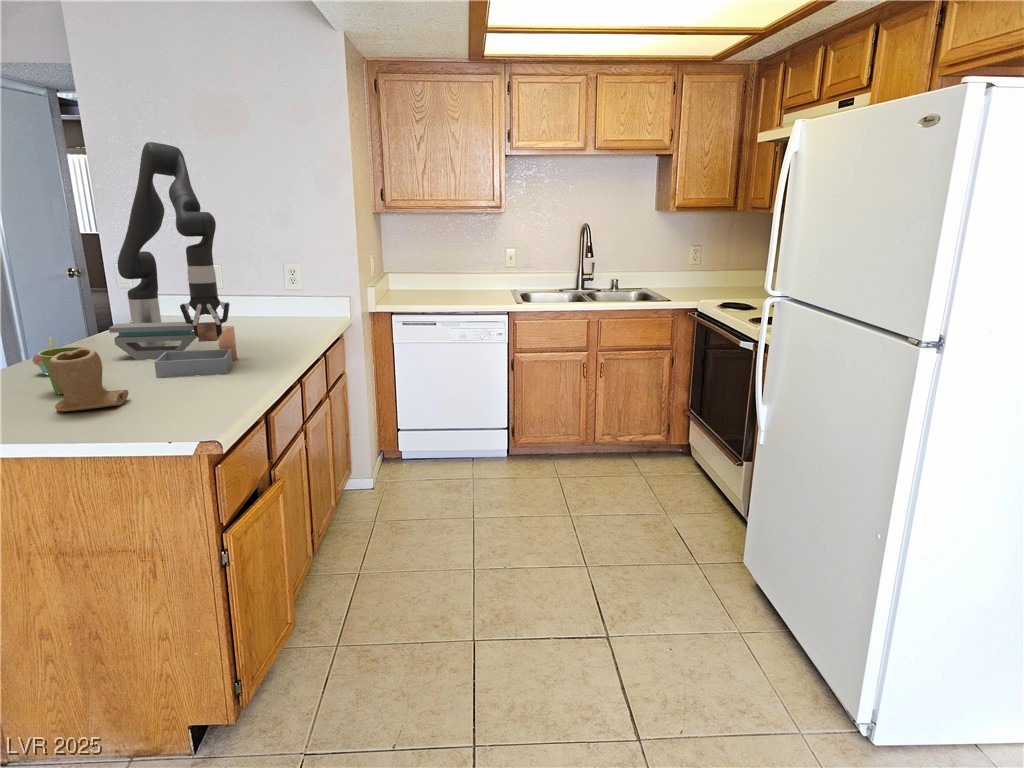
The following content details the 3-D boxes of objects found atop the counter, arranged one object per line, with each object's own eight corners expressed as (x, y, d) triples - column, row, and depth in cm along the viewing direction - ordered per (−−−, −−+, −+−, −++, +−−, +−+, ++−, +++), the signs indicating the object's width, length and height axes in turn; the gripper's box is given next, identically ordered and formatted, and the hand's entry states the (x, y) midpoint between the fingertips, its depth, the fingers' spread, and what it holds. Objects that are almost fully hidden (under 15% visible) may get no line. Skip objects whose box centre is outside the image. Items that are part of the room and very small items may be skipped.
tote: (156, 377, 191) (154, 361, 190) (166, 366, 204) (164, 351, 203) (226, 374, 196) (225, 358, 195) (232, 363, 209) (231, 348, 208)
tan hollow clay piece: (50, 418, 154) (38, 357, 150) (61, 405, 164) (51, 346, 160) (123, 412, 159) (114, 352, 155) (130, 399, 170) (122, 342, 166)
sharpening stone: (202, 352, 224) (198, 321, 221) (197, 357, 217) (194, 325, 214) (121, 356, 218) (116, 323, 215) (113, 361, 211) (108, 328, 208)
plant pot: (41, 400, 168) (33, 357, 165) (48, 388, 178) (41, 348, 175) (95, 394, 173) (88, 353, 170) (99, 384, 184) (92, 345, 181)
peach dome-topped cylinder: (220, 362, 210) (216, 328, 207) (222, 359, 215) (218, 326, 212) (236, 361, 212) (233, 328, 209) (238, 358, 216) (235, 325, 213)
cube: (198, 341, 196) (196, 325, 195) (201, 338, 200) (199, 322, 199) (216, 341, 197) (215, 324, 196) (219, 337, 202) (217, 322, 201)
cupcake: (76, 371, 196) (70, 332, 193) (49, 378, 189) (42, 337, 186) (56, 369, 199) (49, 330, 196) (28, 375, 191) (20, 335, 188)
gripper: (229, 279, 200) (235, 333, 204) (178, 280, 196) (185, 335, 200) (226, 281, 193) (232, 338, 197) (173, 282, 189) (180, 340, 193)
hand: (208, 336), depth 199 cm, fingers closed on cube, 5 cm apart
